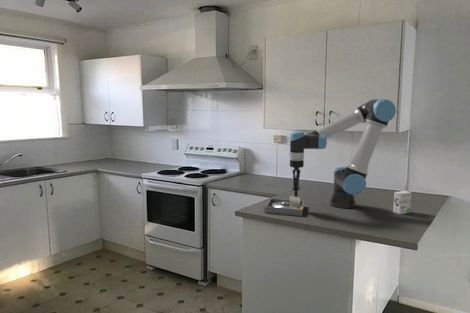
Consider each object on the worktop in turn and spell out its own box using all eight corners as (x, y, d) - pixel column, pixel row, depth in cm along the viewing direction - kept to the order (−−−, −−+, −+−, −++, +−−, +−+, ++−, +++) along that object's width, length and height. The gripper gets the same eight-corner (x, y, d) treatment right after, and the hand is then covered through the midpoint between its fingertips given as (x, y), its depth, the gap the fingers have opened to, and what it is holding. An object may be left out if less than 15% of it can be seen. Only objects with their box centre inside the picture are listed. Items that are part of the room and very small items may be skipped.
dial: (268, 208, 205) (268, 196, 204) (275, 202, 219) (276, 190, 218) (296, 212, 199) (296, 199, 198) (302, 205, 213) (302, 193, 212)
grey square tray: (304, 206, 217) (304, 200, 216) (301, 216, 197) (302, 209, 197) (269, 203, 221) (270, 197, 221) (264, 212, 202) (264, 206, 201)
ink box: (403, 210, 213) (404, 190, 212) (410, 212, 209) (412, 192, 207) (392, 212, 209) (394, 191, 208) (399, 214, 205) (401, 193, 203)
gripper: (291, 157, 212) (290, 198, 215) (288, 161, 199) (287, 204, 203) (304, 158, 210) (303, 198, 213) (303, 161, 198) (301, 204, 201)
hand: (295, 201), depth 208 cm, fingers closed
